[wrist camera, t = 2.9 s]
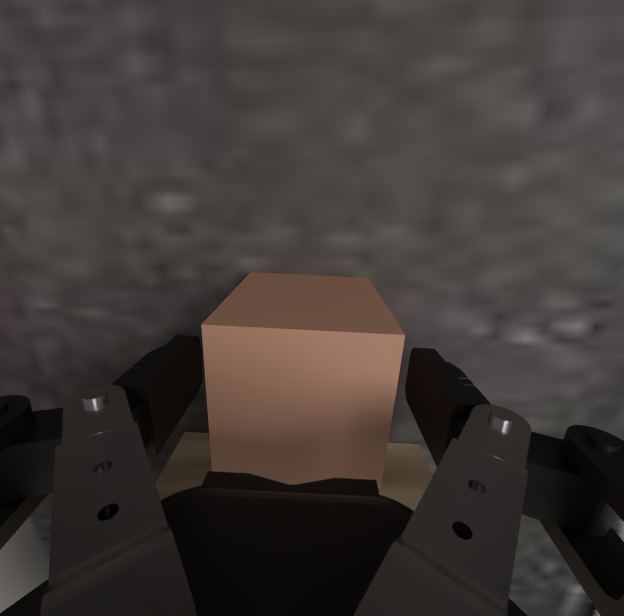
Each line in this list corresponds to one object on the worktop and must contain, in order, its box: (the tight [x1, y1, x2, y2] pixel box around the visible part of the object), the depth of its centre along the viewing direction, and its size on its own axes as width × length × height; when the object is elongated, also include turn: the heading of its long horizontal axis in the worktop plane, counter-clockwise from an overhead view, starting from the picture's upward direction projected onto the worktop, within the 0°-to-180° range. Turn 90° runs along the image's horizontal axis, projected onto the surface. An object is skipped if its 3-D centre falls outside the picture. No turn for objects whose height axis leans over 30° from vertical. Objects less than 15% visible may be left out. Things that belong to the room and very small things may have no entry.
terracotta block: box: [201, 272, 405, 489], centre depth 11 cm, size 5×5×6 cm
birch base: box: [155, 432, 433, 511], centre depth 16 cm, size 14×12×4 cm
